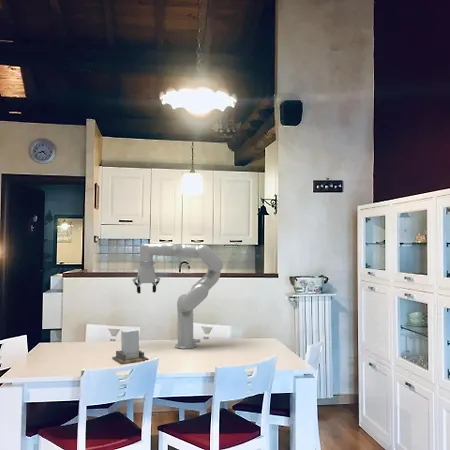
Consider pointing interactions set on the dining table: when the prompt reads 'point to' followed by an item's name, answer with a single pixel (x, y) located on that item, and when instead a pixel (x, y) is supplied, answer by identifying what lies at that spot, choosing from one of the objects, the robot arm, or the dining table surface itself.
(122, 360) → the u rest
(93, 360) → the dining table surface
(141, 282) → the robot arm
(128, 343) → the skincare box
